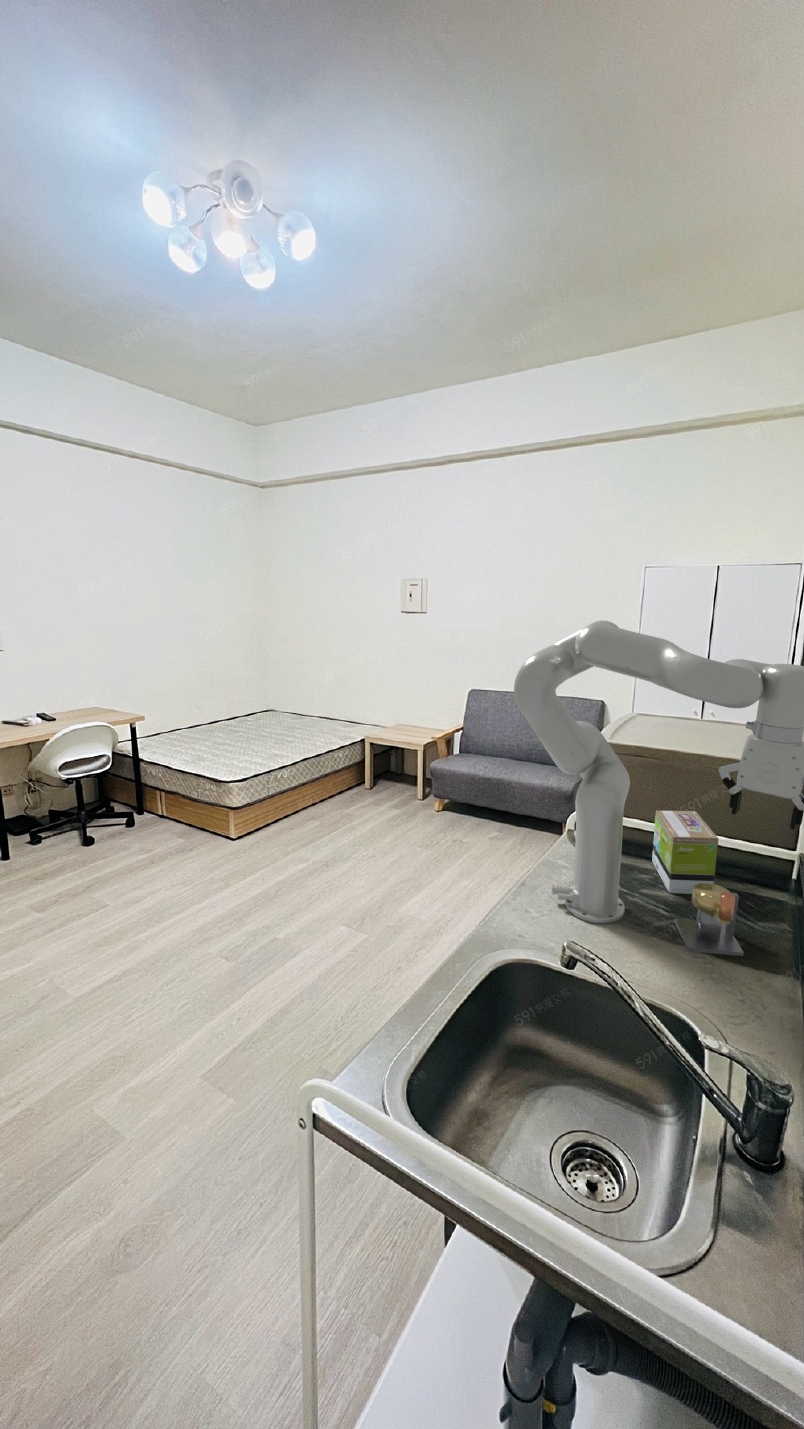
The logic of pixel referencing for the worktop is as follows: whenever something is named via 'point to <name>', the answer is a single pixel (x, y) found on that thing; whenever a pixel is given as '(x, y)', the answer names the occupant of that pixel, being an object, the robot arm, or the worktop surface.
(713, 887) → the crank with handle
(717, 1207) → the worktop surface
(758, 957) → the worktop surface
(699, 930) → the grey crank stand
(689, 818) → the tea box
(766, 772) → the robot arm
